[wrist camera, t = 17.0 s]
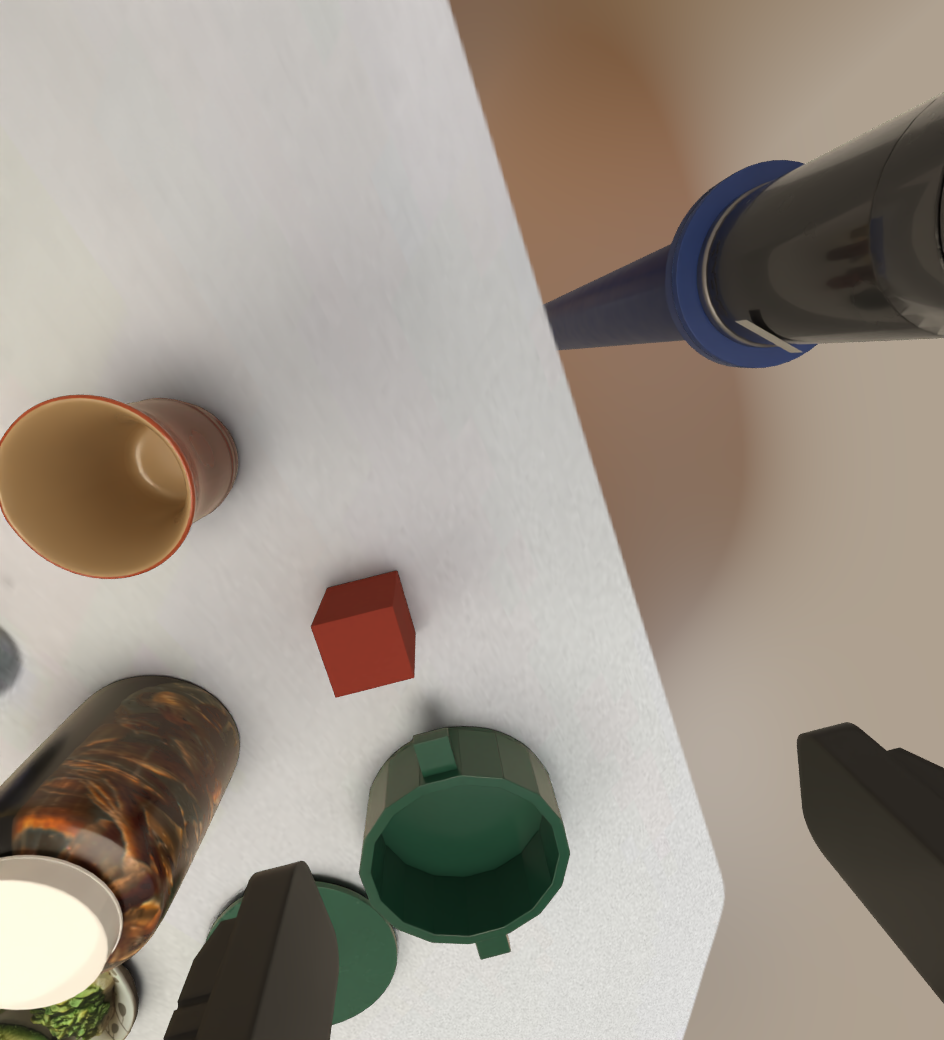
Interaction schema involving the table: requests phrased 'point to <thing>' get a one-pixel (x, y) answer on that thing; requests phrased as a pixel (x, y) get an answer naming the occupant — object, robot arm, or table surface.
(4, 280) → the table surface
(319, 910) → the robot arm
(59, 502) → the mug
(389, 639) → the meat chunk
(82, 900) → the jar
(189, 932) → the table surface
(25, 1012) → the plate of avocado toast
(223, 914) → the pot lid
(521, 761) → the pot
